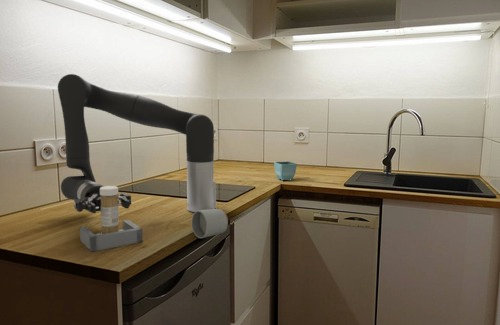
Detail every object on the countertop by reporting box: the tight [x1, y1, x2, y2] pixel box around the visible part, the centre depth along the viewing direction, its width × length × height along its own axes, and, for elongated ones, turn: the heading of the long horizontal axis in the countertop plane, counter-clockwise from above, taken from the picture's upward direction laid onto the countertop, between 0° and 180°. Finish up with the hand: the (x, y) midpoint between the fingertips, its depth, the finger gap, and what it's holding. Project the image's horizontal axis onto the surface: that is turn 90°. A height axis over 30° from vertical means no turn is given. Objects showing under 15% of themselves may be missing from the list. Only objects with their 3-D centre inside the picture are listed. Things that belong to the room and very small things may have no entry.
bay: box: [79, 219, 144, 253], centre depth 103 cm, size 13×10×4 cm
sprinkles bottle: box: [100, 185, 120, 234], centre depth 103 cm, size 5×5×14 cm
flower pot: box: [273, 161, 297, 181], centre depth 195 cm, size 9×9×9 cm
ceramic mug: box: [191, 208, 229, 239], centre depth 110 cm, size 11×8×8 cm
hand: (111, 206), depth 101 cm, fingers open, 8 cm apart
